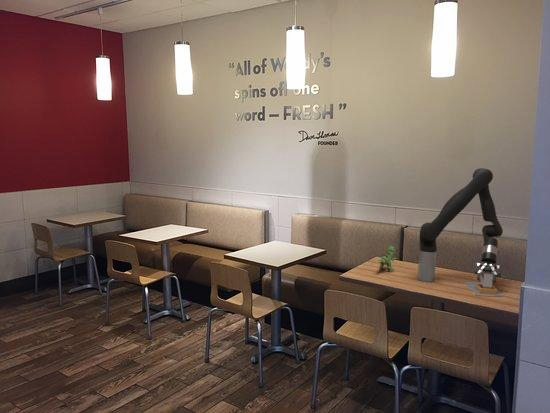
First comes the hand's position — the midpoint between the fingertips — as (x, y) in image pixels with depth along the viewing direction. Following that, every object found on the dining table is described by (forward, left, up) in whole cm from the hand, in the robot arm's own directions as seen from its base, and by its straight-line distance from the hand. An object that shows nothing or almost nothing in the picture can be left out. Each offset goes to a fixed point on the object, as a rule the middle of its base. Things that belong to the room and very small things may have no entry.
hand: (486, 281), depth 262 cm
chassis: (+1, +6, -7) cm, 9 cm away
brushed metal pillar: (+1, +2, -6) cm, 6 cm away
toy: (-47, +36, -7) cm, 60 cm away
